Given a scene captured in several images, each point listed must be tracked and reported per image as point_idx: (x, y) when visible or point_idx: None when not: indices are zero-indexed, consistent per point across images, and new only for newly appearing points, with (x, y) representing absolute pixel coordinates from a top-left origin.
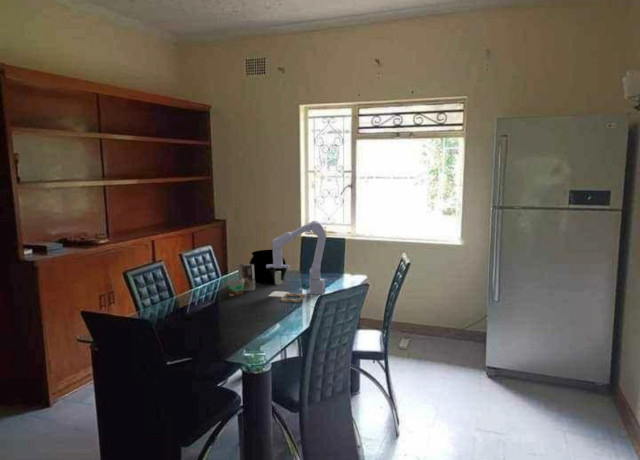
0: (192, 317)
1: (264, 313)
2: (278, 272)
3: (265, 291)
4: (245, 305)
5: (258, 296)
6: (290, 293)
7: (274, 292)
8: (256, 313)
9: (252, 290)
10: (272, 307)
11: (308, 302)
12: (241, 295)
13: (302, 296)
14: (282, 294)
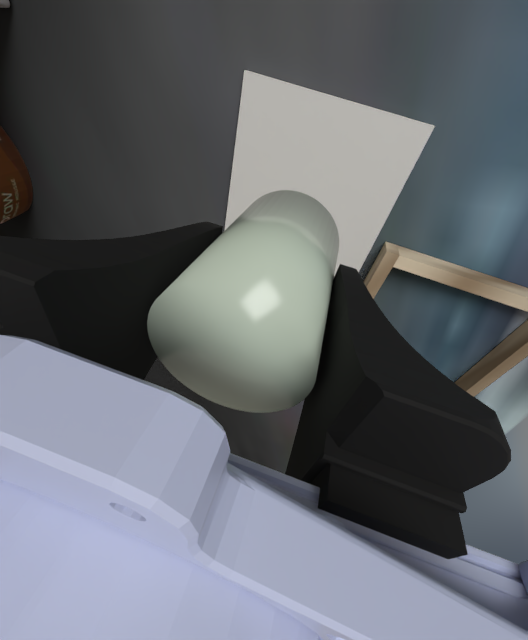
0: None
1: (263, 448)
2: (241, 388)
3: (146, 43)
4: (158, 363)
5: (154, 229)
6: (421, 267)
7: (256, 136)
8: (235, 439)
9: (2, 7)
10: (286, 414)
11: (513, 414)
12: (31, 189)
13: (510, 365)
14: (341, 223)
